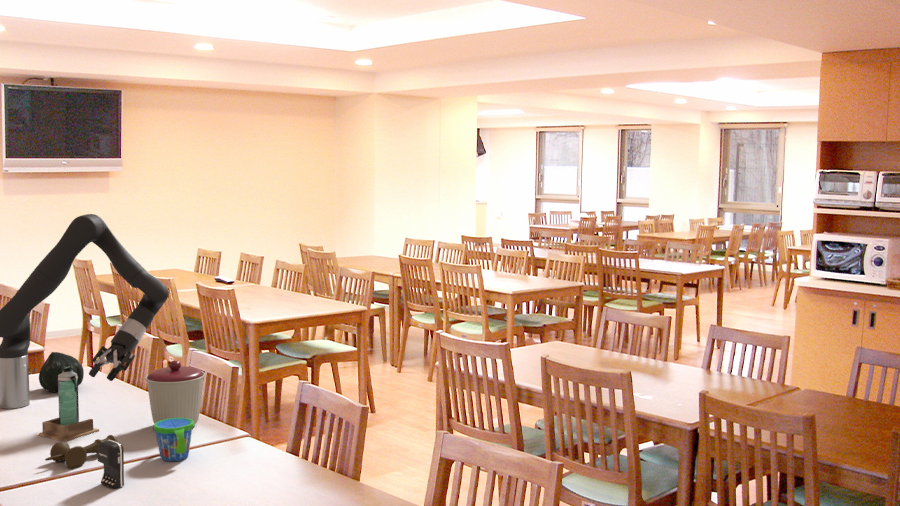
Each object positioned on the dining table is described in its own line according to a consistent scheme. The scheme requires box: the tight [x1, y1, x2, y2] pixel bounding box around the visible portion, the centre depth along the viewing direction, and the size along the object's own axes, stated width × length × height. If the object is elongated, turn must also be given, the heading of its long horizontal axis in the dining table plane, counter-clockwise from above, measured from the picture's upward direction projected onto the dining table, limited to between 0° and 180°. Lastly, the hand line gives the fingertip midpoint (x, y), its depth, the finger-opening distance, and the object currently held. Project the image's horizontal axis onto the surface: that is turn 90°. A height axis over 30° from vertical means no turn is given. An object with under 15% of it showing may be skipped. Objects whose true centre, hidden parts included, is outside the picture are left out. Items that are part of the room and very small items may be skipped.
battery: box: [96, 440, 125, 489], centre depth 210 cm, size 7×4×11 cm, turn 54°
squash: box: [38, 351, 85, 393], centre depth 300 cm, size 14×15×15 cm
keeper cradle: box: [38, 417, 100, 442], centre depth 252 cm, size 12×12×4 cm
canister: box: [144, 360, 206, 426], centre depth 259 cm, size 18×18×21 cm
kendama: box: [44, 434, 118, 469], centre depth 229 cm, size 6×10×20 cm
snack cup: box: [153, 418, 195, 462], centre depth 231 cm, size 16×10×10 cm
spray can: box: [57, 366, 80, 426], centre depth 251 cm, size 6×6×20 cm
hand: (100, 377), depth 261 cm, fingers open, 8 cm apart
